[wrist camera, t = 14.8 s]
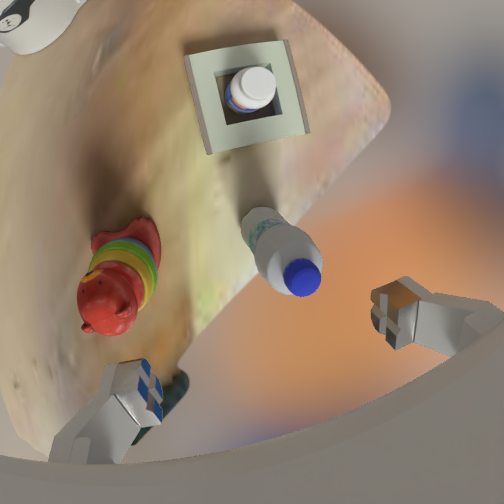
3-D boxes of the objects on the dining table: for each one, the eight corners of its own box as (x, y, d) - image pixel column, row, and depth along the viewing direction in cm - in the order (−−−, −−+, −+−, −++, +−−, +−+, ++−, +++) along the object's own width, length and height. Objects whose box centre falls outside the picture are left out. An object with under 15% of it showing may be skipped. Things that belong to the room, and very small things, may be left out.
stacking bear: (151, 212, 40) (125, 256, 24) (174, 273, 44) (168, 345, 28) (88, 236, 39) (37, 289, 23) (114, 293, 43) (84, 366, 27)
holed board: (184, 63, 34) (184, 55, 30) (280, 47, 35) (287, 39, 32) (206, 154, 39) (208, 155, 36) (300, 133, 40) (310, 133, 37)
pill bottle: (220, 110, 37) (229, 100, 28) (228, 75, 36) (239, 56, 27) (258, 118, 39) (277, 110, 30) (265, 83, 37) (286, 67, 28)
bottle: (270, 251, 46) (320, 322, 28) (230, 237, 44) (259, 306, 26) (288, 212, 44) (353, 261, 26) (247, 195, 42) (292, 236, 24)
